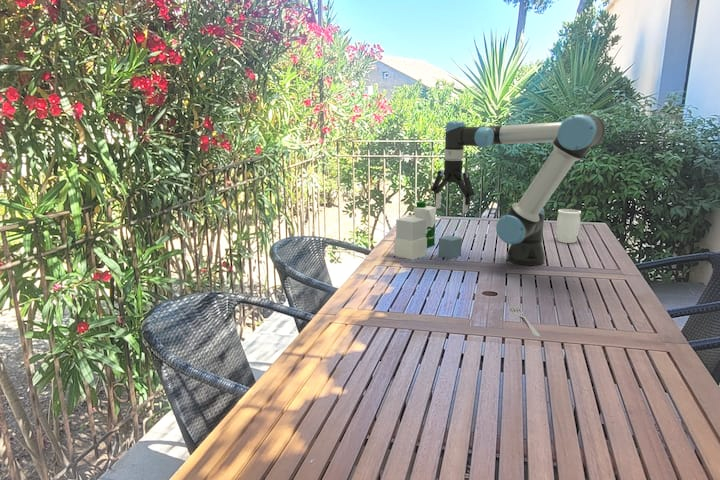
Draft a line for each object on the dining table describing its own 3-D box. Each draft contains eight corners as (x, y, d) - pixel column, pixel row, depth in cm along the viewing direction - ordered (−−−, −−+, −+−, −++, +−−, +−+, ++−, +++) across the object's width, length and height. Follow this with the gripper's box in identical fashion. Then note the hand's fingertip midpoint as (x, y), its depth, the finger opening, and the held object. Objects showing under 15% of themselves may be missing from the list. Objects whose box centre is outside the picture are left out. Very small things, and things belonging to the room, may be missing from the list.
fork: (536, 341, 139) (536, 335, 139) (508, 308, 162) (508, 303, 162) (547, 341, 139) (548, 335, 139) (518, 308, 163) (518, 303, 162)
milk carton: (420, 242, 245) (421, 200, 240) (437, 244, 240) (438, 202, 235) (411, 245, 238) (412, 203, 233) (428, 248, 233) (429, 205, 228)
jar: (581, 244, 240) (585, 212, 236) (559, 244, 240) (562, 212, 237) (573, 238, 250) (576, 208, 247) (551, 238, 251) (554, 208, 247)
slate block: (461, 255, 221) (461, 237, 219) (451, 259, 216) (452, 240, 214) (447, 252, 226) (448, 235, 224) (438, 256, 221) (438, 238, 219)
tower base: (426, 255, 222) (427, 237, 220) (412, 260, 215) (412, 241, 214) (408, 251, 229) (409, 233, 227) (394, 255, 222) (394, 237, 220)
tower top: (425, 237, 220) (426, 219, 219) (412, 241, 214) (412, 222, 212) (409, 234, 227) (409, 216, 225) (396, 237, 220) (396, 219, 218)
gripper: (423, 158, 217) (422, 207, 222) (474, 162, 200) (472, 215, 205) (434, 157, 222) (432, 205, 227) (485, 161, 205) (481, 213, 211)
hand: (451, 210), depth 216 cm, fingers open, 13 cm apart
